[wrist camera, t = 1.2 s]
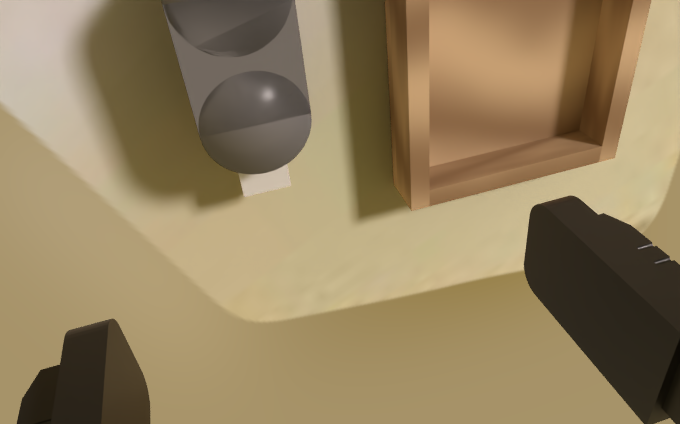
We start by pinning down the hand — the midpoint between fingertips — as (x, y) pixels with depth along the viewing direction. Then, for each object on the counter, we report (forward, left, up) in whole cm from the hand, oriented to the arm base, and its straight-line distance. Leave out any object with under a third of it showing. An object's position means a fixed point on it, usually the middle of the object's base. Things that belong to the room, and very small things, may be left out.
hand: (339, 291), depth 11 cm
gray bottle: (0, 0, -17) cm, 17 cm away
